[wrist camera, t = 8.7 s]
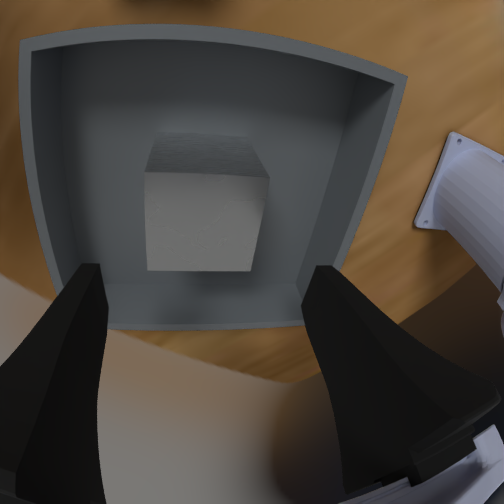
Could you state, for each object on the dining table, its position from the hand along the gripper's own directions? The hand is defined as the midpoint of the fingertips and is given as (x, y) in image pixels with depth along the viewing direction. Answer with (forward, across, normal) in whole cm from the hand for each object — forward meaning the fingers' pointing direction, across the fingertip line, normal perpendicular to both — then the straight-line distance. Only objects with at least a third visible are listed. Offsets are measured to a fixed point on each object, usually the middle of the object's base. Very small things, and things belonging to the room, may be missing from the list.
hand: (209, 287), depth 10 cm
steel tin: (+8, 0, 0) cm, 8 cm away
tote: (+8, 0, 0) cm, 8 cm away
